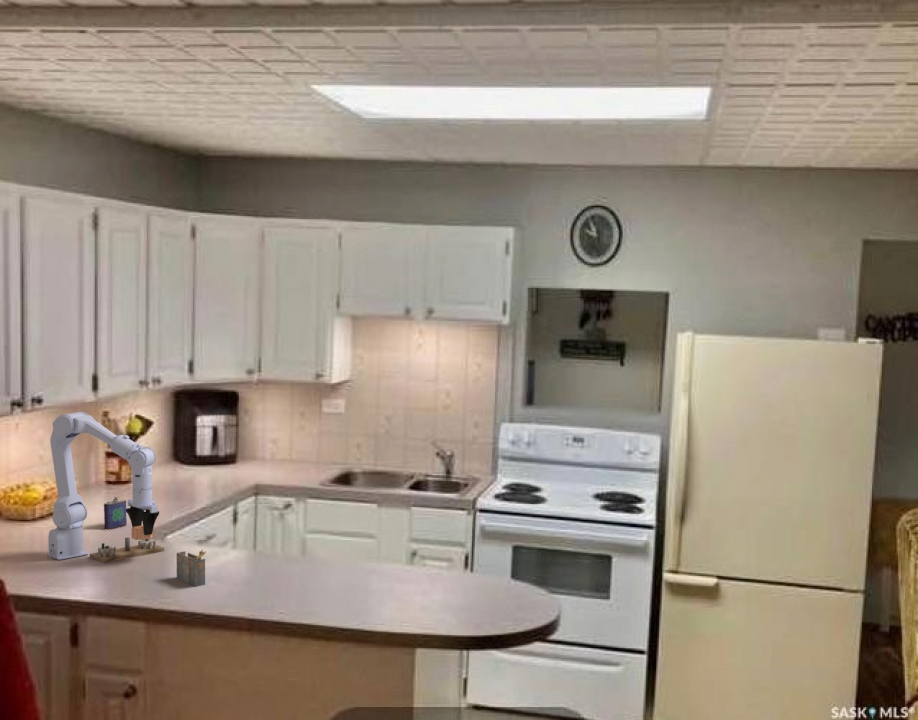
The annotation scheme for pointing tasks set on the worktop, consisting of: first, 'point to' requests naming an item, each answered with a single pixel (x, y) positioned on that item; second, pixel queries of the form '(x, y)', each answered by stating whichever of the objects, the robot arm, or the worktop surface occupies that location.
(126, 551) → the gear board
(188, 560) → the grey-brown boxy piece
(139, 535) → the gear
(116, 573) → the worktop surface
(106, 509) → the flask
